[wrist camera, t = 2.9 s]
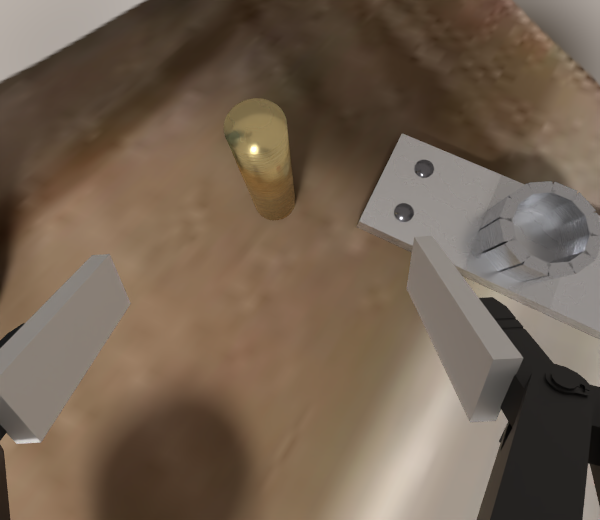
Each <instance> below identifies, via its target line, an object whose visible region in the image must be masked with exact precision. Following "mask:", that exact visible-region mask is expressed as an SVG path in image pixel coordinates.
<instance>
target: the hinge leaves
mask: <svg viewBox="0 0 600 520" xmlns="http://www.w3.org/2000/svg"><path fill="white" fill-rule="evenodd" d="M576 193H577V191H576V190H574V189H571V188H569V187H567V186H564V185H562V184H559V183H557V182H553V183H552V181H547V182H531V183H528V184H522V183H520V182H518V181H515V180H513V179H510V178H508V177H506V176H503V175H501V174H498V173H496V172H494V171H491V170H489V169H486V168H484V167H482V166H479V165H477V164H474V163H472V162H470V161H467V160H465V159H462V158H460V157H458V156H455V155H453V154H450V153H448V152H446V151H443V150H441V149H438V148H436V147H434V146H431V145H429V144H426V143H424V142H422V141H419V140H417V139H414V138H412V137H410V136H407V135H405V134H401V136H400V138H399V140H398V143H397V145H396V147H395V149H394V151H393V153H392V155H391V157H390V159H389V161H388V163H387V165H386V167H385V169H384V171H383V173H382V175H381V177H380V179H379V181H378V183H377V185H376V187H375V190H374V192H373V194H372V196H371V198H370V200H369V202H368V204H367V206H366V208H365V210H364V212H363V214H362V216H361V218H360V220H359V222H358V225H357V227H358V228H360V229H362V230H364V231H367V232H369V233H371V234H373V235H375V236H377V237H380V238H382V239H384V240H386V241H388V242H390V243H393V244H395V245H397V246H399V247H401V248H403V249H406V250H408V251H410V252H412V248H413V242H414V237H421V236H433V238H434V239H435V240H436V242H437V243H438V244H439V246H440V247H441V248H442V250H443V251H444V252H445V254H446V255H447V256H448V258H449V259H450V260H451V262H452V263H453V264H454V266H455V267H456V268H457V270H458V271H459V272H460V274H461V275H462V276H464V277H466V278H468V279H470V280H473V281H475V282H477V283H479V284H481V285H483V286H486V287H488V288H490V289H492V290H494V291H496V292H499V293H501V294H503V295H505V296H507V297H509V298H512V299H514V300H516V301H518V302H520V303H522V304H525V305H527V306H529V307H531V308H533V309H535V310H538V311H540V312H542V313H544V314H546V315H548V316H551V317H553V318H555V319H557V320H559V321H561V322H564V323H566V324H568V325H570V326H572V327H574V328H577V329H579V330H581V331H583V332H585V333H587V334H590V335H592V336H594V337H596V338H598V339H600V216H599V215H598V213H594V212H595V211H596V210H595V209H594V208H593V207H592V206H591V204H590V203H589V202H588V201H587V200H586V199H585V198H584V197H583V196H582V195H581V194H580V192H579V193H577V194H576Z"/></svg>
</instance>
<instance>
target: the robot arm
mask: <svg viewBox="0 0 600 520" xmlns="http://www.w3.org/2000/svg"><path fill="white" fill-rule="evenodd" d="M407 290H408V292H409V294H410V297H411V299H412V301H413V303H414V305H415V307H416V309H417V311H418V313H419V315H420V318H421V320H422V322H423V324H424V326H425V328H426V330H427V332H428V334H429V337H430V339H431V341H432V343H433V345H434V347H435V349H436V351H437V353H438V356H439V358H440V360H441V362H442V364H443V366H444V368H445V370H446V372H447V375H448V377H449V379H450V381H451V383H452V385H453V387H454V389H455V391H456V394H457V396H458V398H459V400H460V402H461V404H462V406H463V408H464V410H465V412H466V415H467V417H468V419H469V421H470V422H483V421H496V419H497V417H498V415H499V412H500V410H501V409H502V411H503V413H504V414H505V416H506V418H507V420H508V423H507V426H506V428H505V430H504V432H503V434H502V436H501V438H500V440H499V442H501V444H500V447H499V450H498V453H497V457H496V460H495V463H494V466H493V469H492V473H491V476H490V479H489V482H488V485H487V488H486V492H485V495H484V498H483V501H482V504H481V508H480V511H479V514H478V517H477V520H582V517H583V507H584V497H585V487H586V477H587V467H588V463H589V464H590V466H591V471H592V475H593V479H594V484H595V488H596V492H597V497H598V501H599V505H600V387H597V386H593V385H589V383H588V382H587V381H586V380H585V379H584V378H583V377H581V376H580V375H579V374H578V373H576V372H574V371H572V370H570V369H568V368H566V367H564V366H560V365H557V364H554V363H553V362H552V361H551V360H550V359H549V357H548V356H547V355H546V354H545V353H544V351H543V350H542V349H541V348H540V347H539V345H538V344H537V343H536V342H535V340H534V339H533V338H532V337H531V336H530V334H529V333H528V332H527V331H526V330H525V329H523V326H522V325H521V324H520V322H519V321H518V320H516V319H515V316H514V315H513V314H512V313H511V312H510V310H509V309H508V308H507V307H506V306H505V305H503V304H502V303H500V302H499V301H497V300H496V299H494V298H493V297H490V298H478V296H477V295H476V294H475V292H474V291H473V290H472V288H471V287H470V286H469V284H468V283H467V282H466V280H465V279H464V278H463V276H462V275H461V274H460V272H459V271H458V270H457V268H456V267H455V266H454V264H453V263H452V262H451V260H450V259H449V258H448V256H447V255H446V254H445V252H444V251H443V250H442V248H441V247H440V246H439V244H438V243H437V242H436V240H435V239H434V238H433V236H421V237H414V242H413V248H412V255H411V262H410V269H409V276H408V283H407ZM130 304H131V303H130V301H129V298H128V296H127V294H126V291H125V289H124V287H123V284H122V282H121V279H120V277H119V275H118V272H117V270H116V268H115V265H114V263H113V261H112V258H111V256H110V254H105V255H92V256H91V257H90V258H89V259H88V260H87V261H86V262H85V263H84V264H83V265H82V266H81V267H80V268H79V269H78V270H77V271H76V272H75V273H74V274H73V275H72V276H71V277H70V278H69V279H68V280H67V281H66V282H65V283H64V284H63V285H62V286H61V287H60V288H59V289H58V290H57V291H56V293H55V294H54V295H53V296H52V297H51V298H50V299H49V300H48V301H47V302H46V303H45V304H44V305H43V306H42V307H41V308H40V309H39V310H38V311H37V312H36V313H35V314H34V315H33V316H32V317H31V318H30V319H29V320H28V321H27V322H26V323H23V324H21V325H20V326H18V327H17V328H15V329H14V330H12V331H11V332H9V333H8V334H7V335H6V336H5V337H4V338H2V339H1V340H0V440H1V439H2V438H3V436H4V435H5V434H6V433H7V434H8V435H9V436H10V437H11V438H12V439H13V440H14V441H15V442H16V444H18V443H39V442H42V440H43V439H44V437H45V435H46V434H47V432H48V431H49V429H50V428H51V426H52V425H53V423H54V422H55V420H56V418H57V417H58V415H59V414H60V412H61V411H62V409H63V408H64V406H65V404H66V403H67V401H68V400H69V398H70V397H71V395H72V394H73V392H74V391H75V389H76V387H77V386H78V384H79V383H80V381H81V380H82V378H83V377H84V375H85V373H86V372H87V370H88V369H89V367H90V366H91V364H92V363H93V361H94V360H95V358H96V356H97V355H98V353H99V352H100V350H101V349H102V347H103V346H104V344H105V343H106V341H107V339H108V338H109V336H110V335H111V333H112V332H113V330H114V329H115V327H116V325H117V324H118V322H119V321H120V319H121V318H122V316H123V315H124V313H125V312H126V310H127V308H128V307H129V305H130ZM0 520H10V512H9V501H8V491H7V480H6V469H5V459H4V450H3V448H2V446H1V445H0Z"/></svg>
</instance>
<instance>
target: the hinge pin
mask: <svg viewBox="0 0 600 520" xmlns="http://www.w3.org/2000/svg"><path fill="white" fill-rule="evenodd" d="M224 133H225V137H226V139H227V142H228V144H229V146H230V149H231V151H232V153H233V156H234V158H235V160H236V163H237V165H238V167H239V170H240V172H241V174H242V176H243V179H244V181H245V183H246V186H247V188H248V190H249V193H250V195H251V197H252V200H253V202H254V204H255V207H256V209H257V211H258V212H259V214H260V215H261V216H263V217H264V218H266V219H269V220H280V219H283V218H285V217H287V216H288V215H289V214H290V213H291V212H292V210H293V208H294V206H295V194H294V185H293V175H292V166H291V157H290V148H289V139H288V130H287V121H286V117H285V115H284V113H283V111H282V110H281V109H280V107H278V106H277V105H276V104H275V103H273V102H271V101H269V100H265V99H259V98H254V99H248V100H245V101H242V102H240V103H239V104H237V105H236V106H234V107H233V108H232V109H231V110H230V112H229V113H228V115H227V117H226V119H225V122H224Z"/></svg>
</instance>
